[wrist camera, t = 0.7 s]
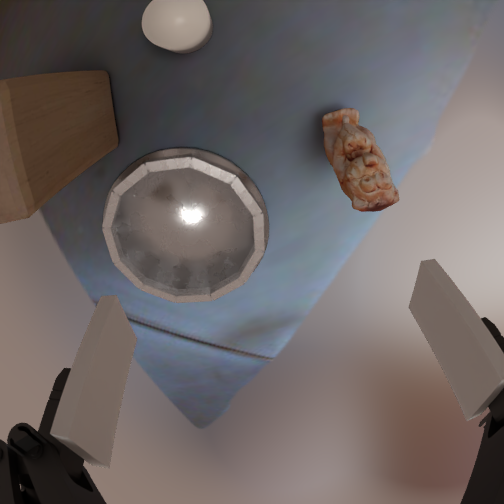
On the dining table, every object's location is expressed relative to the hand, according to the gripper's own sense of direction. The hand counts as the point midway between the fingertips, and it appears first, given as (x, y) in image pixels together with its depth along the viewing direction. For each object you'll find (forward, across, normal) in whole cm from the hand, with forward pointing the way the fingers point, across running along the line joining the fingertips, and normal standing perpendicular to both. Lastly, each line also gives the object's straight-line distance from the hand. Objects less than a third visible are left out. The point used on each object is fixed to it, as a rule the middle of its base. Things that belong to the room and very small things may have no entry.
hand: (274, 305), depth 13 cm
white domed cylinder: (+26, -5, +15) cm, 31 cm away
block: (+26, -20, +8) cm, 34 cm away
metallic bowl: (+26, -9, -10) cm, 29 cm away
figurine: (+26, +10, +1) cm, 28 cm away
